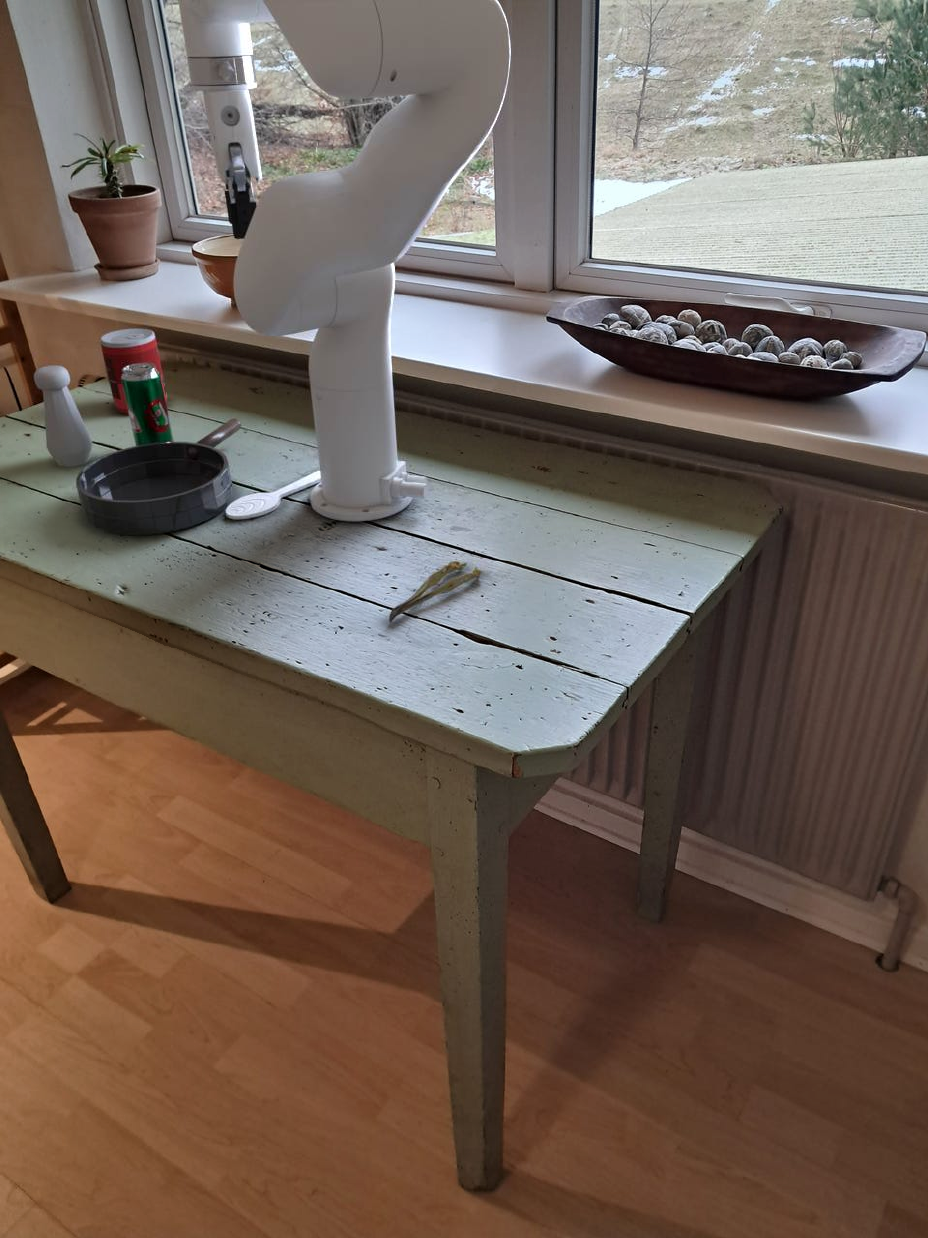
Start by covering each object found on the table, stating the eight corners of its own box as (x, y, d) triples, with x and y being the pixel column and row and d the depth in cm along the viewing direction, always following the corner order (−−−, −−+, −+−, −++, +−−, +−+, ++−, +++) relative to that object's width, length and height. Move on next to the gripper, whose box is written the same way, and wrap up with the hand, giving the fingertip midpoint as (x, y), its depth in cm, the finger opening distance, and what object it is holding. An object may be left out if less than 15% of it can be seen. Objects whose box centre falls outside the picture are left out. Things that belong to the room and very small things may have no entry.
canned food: (178, 402, 151) (165, 331, 145) (139, 418, 145) (123, 346, 139) (144, 394, 154) (130, 325, 148) (105, 409, 149) (88, 338, 143)
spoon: (352, 474, 126) (352, 470, 126) (243, 524, 115) (242, 520, 114) (324, 464, 129) (324, 460, 129) (215, 511, 118) (214, 507, 117)
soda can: (137, 447, 136) (118, 364, 129) (174, 442, 137) (157, 359, 130) (138, 461, 132) (119, 375, 125) (176, 456, 133) (159, 371, 126)
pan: (259, 482, 125) (254, 450, 122) (181, 546, 111) (174, 510, 108) (142, 466, 130) (135, 435, 128) (53, 525, 116) (43, 491, 113)
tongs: (380, 619, 96) (379, 602, 95) (455, 570, 106) (455, 554, 104) (413, 632, 94) (413, 614, 93) (487, 581, 103) (487, 564, 102)
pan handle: (244, 429, 134) (242, 417, 133) (197, 462, 125) (195, 449, 124) (232, 428, 135) (230, 415, 134) (186, 460, 126) (183, 447, 125)
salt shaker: (103, 453, 134) (80, 361, 127) (85, 469, 130) (61, 375, 123) (63, 452, 135) (38, 360, 128) (44, 469, 130) (17, 375, 123)
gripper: (261, 77, 106) (281, 241, 115) (249, 69, 120) (268, 216, 129) (191, 80, 104) (217, 246, 113) (188, 71, 118) (211, 220, 128)
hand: (244, 230), depth 121 cm, fingers open, 9 cm apart
